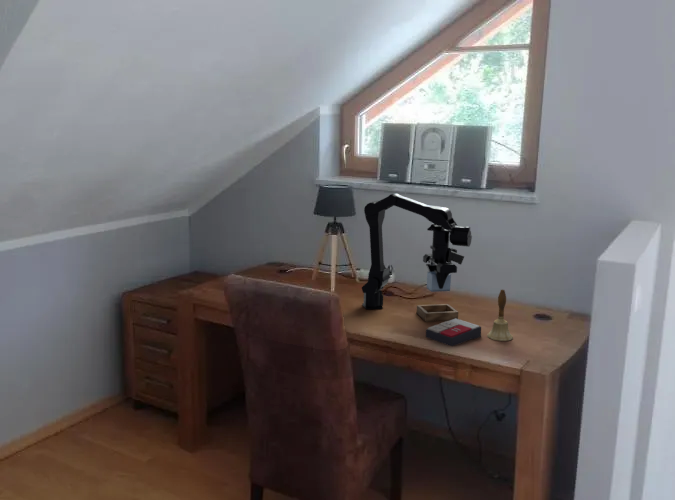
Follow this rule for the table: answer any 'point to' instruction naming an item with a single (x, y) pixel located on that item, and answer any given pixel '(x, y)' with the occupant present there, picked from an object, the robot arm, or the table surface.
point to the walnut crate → (437, 312)
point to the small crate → (433, 283)
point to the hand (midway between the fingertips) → (438, 286)
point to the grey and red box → (453, 332)
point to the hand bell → (500, 322)
